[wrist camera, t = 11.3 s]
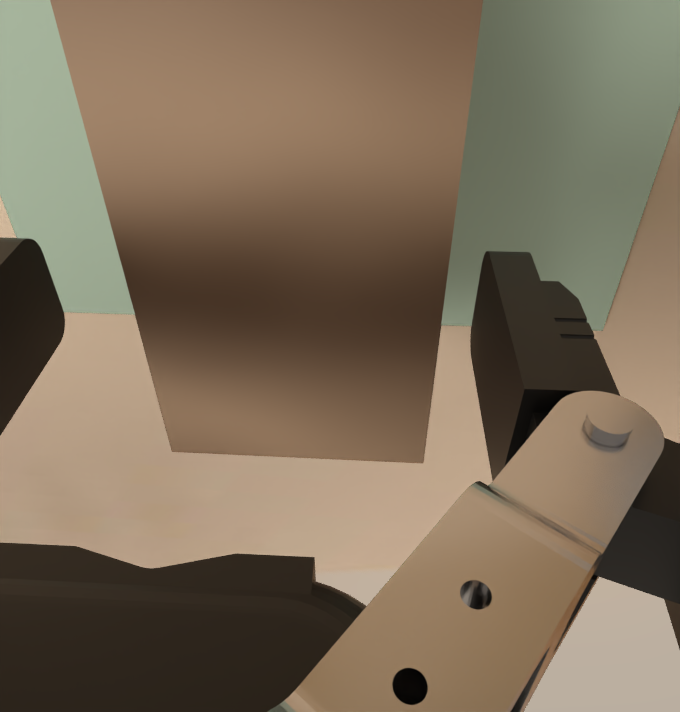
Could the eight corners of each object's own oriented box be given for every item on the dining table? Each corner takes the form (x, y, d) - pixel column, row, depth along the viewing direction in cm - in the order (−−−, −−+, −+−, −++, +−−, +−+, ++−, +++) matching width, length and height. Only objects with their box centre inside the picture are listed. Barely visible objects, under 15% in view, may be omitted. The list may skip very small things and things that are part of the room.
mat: (49, 305, 23) (45, 311, 22) (-144, -207, 14) (-155, -208, 13) (599, 323, 22) (602, 330, 21) (780, -216, 13) (790, -217, 12)
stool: (188, -92, 14) (39, -41, 8) (445, -92, 14) (488, -39, 8) (235, 272, 21) (172, 451, 15) (413, 277, 21) (423, 463, 14)
